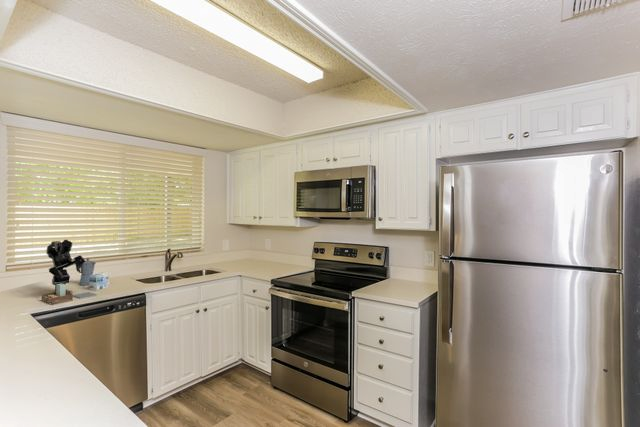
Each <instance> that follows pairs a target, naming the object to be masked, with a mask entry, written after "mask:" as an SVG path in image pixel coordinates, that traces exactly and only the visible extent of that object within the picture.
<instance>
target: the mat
mask: <svg viewBox="0 0 640 427" xmlns="http://www.w3.org/2000/svg"><path fill="white" fill-rule="evenodd" d="M73 296H74V297H73V298H77V299H85V298H90V297H95V296H98V294H96V293H93V292H90V291H86V292H81V293H77V294H73Z"/></svg>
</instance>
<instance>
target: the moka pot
mask: <svg viewBox="0 0 640 427" xmlns="http://www.w3.org/2000/svg"><path fill="white" fill-rule="evenodd" d="M95 264H96V261H93V260H90V258H86V260H85V262H84V263H83V264H82V265H81V267H80V269H79V272H78V273H80V274H81V275H80V280H79V285H80V286H90V275H93V274H94V270H95Z"/></svg>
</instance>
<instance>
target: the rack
mask: <svg viewBox="0 0 640 427" xmlns="http://www.w3.org/2000/svg"><path fill="white" fill-rule="evenodd" d="M48 295H56V292H55V291H53V292H49V293H43V294H41V302H43V301H45V302H44V303H46V302H48V303H47V304H49V303H51V304H50V305H52V306H53V305H59V304H64V303H68V301H69V302H72V301H73V298H74V297H73V295H74V294H73V290H70V289H67V288H66V295H65V296H59V297H54V298H49V297H48Z"/></svg>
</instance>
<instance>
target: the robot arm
mask: <svg viewBox="0 0 640 427" xmlns="http://www.w3.org/2000/svg"><path fill="white" fill-rule="evenodd" d="M72 247H73V242H72V241H70V240H68V239H63V241H60V240H56V241H51V243H50V244H48V245H47V248H46V255H47V257H48V258H49V259H51V260H52V263H53V265H52V267H50V268H48V272H49V273H50V274H51V275H52V279H51V285H53V286H54V292H56V284H66V285H67V284H69V283H70V278H71V276H70V274H69V272H68V270H67V268H68V267H71V266H74V265H75V270H76V271H77V273H79V269H80V270H81V268H80V267H81V265H82V264H83V263H84V262H85V261H86V259H85V257H83V256H82V255H81V254H80V255H76V256H75V257H73V258H72V257H71V253H70V252H71V251H72ZM65 268H66V269H65Z"/></svg>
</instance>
